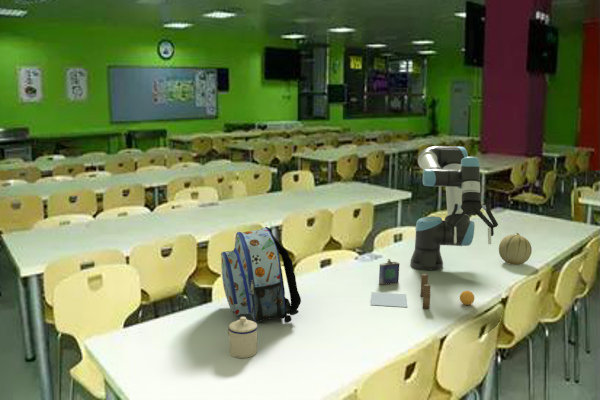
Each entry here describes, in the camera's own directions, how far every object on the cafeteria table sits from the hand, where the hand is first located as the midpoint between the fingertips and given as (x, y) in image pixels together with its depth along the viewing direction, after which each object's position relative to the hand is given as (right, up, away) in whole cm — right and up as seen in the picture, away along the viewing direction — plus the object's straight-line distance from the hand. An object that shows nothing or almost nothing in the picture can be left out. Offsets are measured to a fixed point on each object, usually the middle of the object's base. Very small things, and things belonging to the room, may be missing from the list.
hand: (472, 243), depth 229 cm
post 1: (-20, -21, -2) cm, 29 cm away
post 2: (-22, -24, -14) cm, 35 cm away
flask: (-32, -18, +14) cm, 39 cm away
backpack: (-87, -24, -19) cm, 92 cm away
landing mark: (-35, -22, -6) cm, 42 cm away
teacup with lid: (-89, -30, -50) cm, 107 cm away
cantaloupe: (+33, -13, +42) cm, 55 cm away
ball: (-5, -20, -11) cm, 24 cm away
